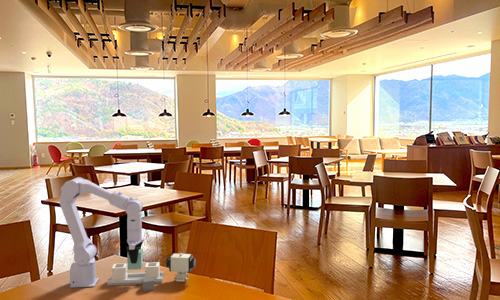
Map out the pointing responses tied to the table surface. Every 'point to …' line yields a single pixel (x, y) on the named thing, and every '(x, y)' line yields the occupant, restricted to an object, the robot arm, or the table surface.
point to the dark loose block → (148, 284)
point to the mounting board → (134, 274)
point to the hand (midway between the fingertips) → (135, 260)
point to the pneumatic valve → (181, 265)
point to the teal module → (135, 265)
